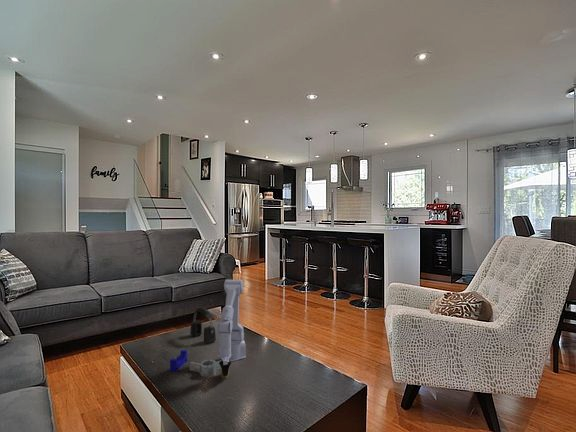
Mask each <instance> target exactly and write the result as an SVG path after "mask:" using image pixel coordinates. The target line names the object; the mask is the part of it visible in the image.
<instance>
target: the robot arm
mask: <svg viewBox="0 0 576 432" xmlns="http://www.w3.org/2000/svg"><path fill="white" fill-rule="evenodd" d="M223 288H224V289H223V290H224V292H225V294H226V296H225V297H226V298H225V306H224V307H223V308H222V312H221V317H220V319H219V321H218V323H217V336H218V338H219V339H218V340H219V341H218V342H219V343H218V350H219V352H218V353H217V354H216V357H217V358H219V359H220V360H222V361H220V360H218V361H219V364H220V366H221V369H222V374H223V376H227V375H228V370H229V371H230V366H231V364H232V362H234V361H235V362H236V361H238V360H242V359H246V358H247V355H246V354H247V353H246V352H247V349H246V347H247V346H246V342H245V340H244V339H245V331H244V326H243V325H242V324H240V323H239V321H240V295H242V294H243V293H244V281H243V279H227V278H226V279H225V280H224V283H223ZM228 360H229V361H228ZM221 369H220V370H221Z"/></svg>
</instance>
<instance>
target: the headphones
mask: <svg viewBox="0 0 576 432" xmlns="http://www.w3.org/2000/svg"><path fill="white" fill-rule="evenodd" d="M199 313H201V314H203V315H204V317H205V318H206V319H208V321H209V324H210V326H206V327H204V328H203V326H202V324H203V323H202V321H201V320H196V318H197V314H199ZM213 324H214V323H213V320H212V314H211V313H210V312H209V310H208V309H207V308H205V307H198V308H196V310H195V311H194V315H193V320H192V321H191V323H190V331H189V333H190V335H191V337H192V338H196V337H199V336H202V331H203V343H205V344H211V343H213V342H216V340H217V339H216V338H217V336H216V329H215V326H213ZM202 328H203V329H202Z"/></svg>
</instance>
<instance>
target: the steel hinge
mask: <svg viewBox="0 0 576 432" xmlns="http://www.w3.org/2000/svg"><path fill="white" fill-rule="evenodd" d="M219 361H221V359H220V360H218V361H216V360H215V359H205V360H203V361H201V362H192V361H190V362H189V371H191V372H196V373H199V375H200V377H202V378H210V377H213V376H215V375H216V373H217V371H218V370H221V366H220V364H219Z"/></svg>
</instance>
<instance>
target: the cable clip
mask: <svg viewBox="0 0 576 432" xmlns="http://www.w3.org/2000/svg"><path fill="white" fill-rule="evenodd" d="M187 361H188V350H187V349H181V350H180V354H179V355H178V356H177V357H176V358H171V359H169V372H172V373H173V372H175V373H176V372H177V371H178V370H179V369H180V368H181V367H182V366H184V365H185V364H186V363H187Z"/></svg>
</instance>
